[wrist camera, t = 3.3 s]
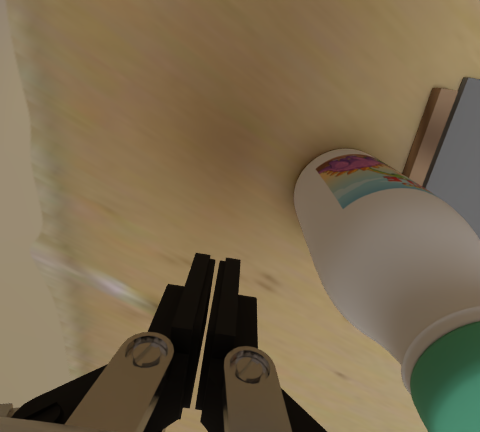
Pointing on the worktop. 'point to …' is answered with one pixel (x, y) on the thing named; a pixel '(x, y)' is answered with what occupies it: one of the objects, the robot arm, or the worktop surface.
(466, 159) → the mat
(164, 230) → the worktop surface
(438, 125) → the rail
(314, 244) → the milk bottle
